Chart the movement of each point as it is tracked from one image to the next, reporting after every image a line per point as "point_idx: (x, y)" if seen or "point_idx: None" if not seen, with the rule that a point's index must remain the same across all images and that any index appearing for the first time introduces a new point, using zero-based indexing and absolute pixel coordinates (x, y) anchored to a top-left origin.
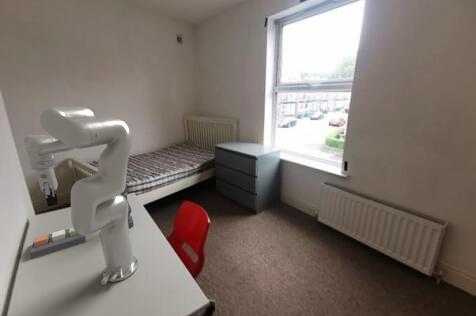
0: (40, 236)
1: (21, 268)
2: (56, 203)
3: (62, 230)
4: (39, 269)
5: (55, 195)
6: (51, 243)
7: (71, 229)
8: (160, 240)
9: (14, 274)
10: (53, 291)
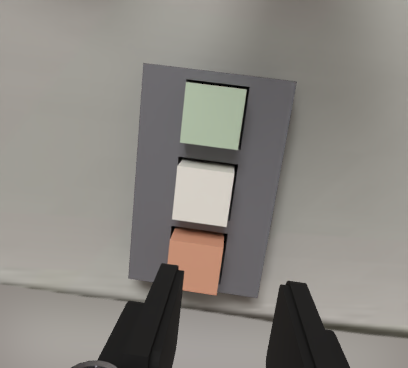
0: None
1: None
2: (307, 297)
3: (182, 176)
4: (361, 264)
5: (166, 340)
6: (239, 224)
7: (207, 134)
8: None
9: None
10: None
